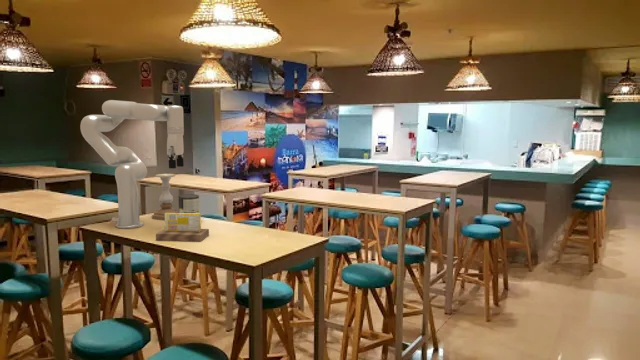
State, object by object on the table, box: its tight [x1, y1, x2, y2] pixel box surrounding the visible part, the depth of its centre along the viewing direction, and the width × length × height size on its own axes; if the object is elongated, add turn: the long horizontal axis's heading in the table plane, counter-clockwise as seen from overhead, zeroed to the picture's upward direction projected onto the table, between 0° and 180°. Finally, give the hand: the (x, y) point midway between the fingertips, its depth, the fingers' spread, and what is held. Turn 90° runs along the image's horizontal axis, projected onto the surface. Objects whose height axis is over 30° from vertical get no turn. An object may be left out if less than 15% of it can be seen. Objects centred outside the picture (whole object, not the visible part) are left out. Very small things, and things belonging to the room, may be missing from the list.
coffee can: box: [178, 193, 200, 214], centre depth 240 cm, size 10×10×14 cm
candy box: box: [164, 212, 202, 232], centre depth 207 cm, size 16×2×8 cm, turn 85°
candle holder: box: [151, 173, 179, 221], centre depth 250 cm, size 11×11×24 cm
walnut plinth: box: [155, 228, 210, 243], centre depth 207 cm, size 20×12×3 cm, turn 86°
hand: (176, 167), depth 222 cm, fingers open, 9 cm apart
